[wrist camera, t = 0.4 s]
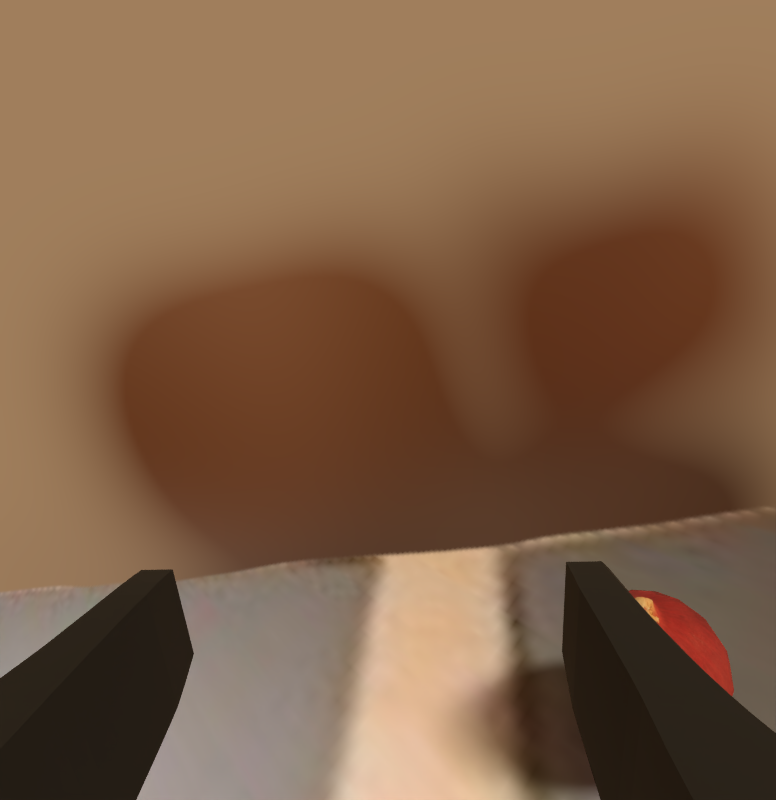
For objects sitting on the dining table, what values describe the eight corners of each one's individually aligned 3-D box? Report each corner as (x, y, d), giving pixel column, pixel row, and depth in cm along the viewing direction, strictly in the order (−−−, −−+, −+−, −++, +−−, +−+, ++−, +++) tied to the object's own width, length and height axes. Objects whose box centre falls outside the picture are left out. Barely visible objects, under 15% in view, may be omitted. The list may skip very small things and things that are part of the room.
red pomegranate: (560, 713, 28) (524, 598, 25) (651, 637, 30) (630, 517, 26) (668, 826, 24) (643, 705, 20) (768, 729, 25) (765, 599, 21)
